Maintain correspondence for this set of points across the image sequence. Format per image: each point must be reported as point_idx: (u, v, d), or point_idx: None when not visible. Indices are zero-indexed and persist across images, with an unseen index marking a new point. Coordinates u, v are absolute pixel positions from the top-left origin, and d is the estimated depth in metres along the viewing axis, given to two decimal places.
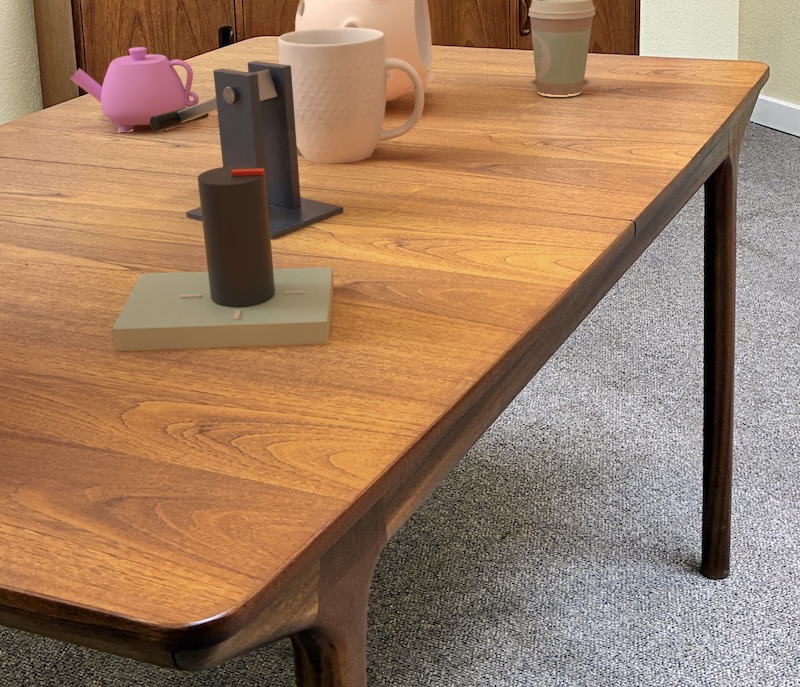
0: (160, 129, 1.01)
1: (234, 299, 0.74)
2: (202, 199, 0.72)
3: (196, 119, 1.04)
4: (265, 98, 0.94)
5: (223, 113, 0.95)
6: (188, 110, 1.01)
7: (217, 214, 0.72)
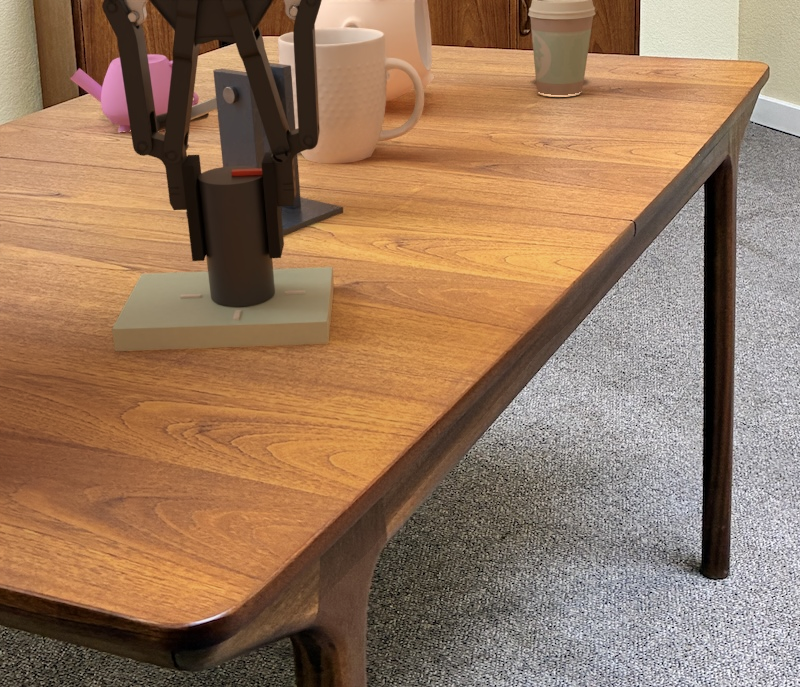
0: (160, 129, 1.01)
1: (234, 299, 0.74)
2: (202, 199, 0.72)
3: (196, 119, 1.04)
4: None
5: (223, 113, 0.95)
6: None
7: (217, 214, 0.72)
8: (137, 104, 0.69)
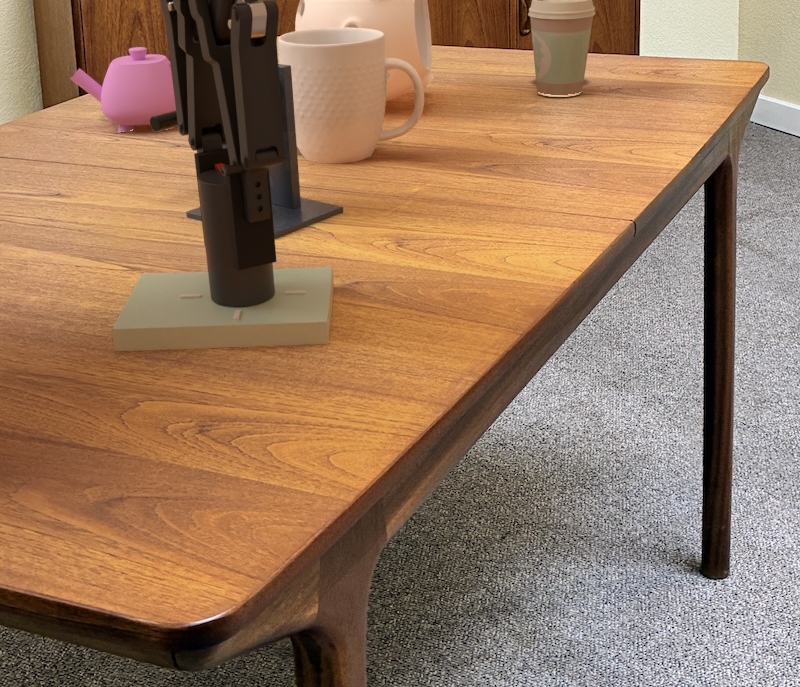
0: (160, 129, 1.01)
1: None
2: None
3: None
4: None
5: None
6: None
7: None
8: None
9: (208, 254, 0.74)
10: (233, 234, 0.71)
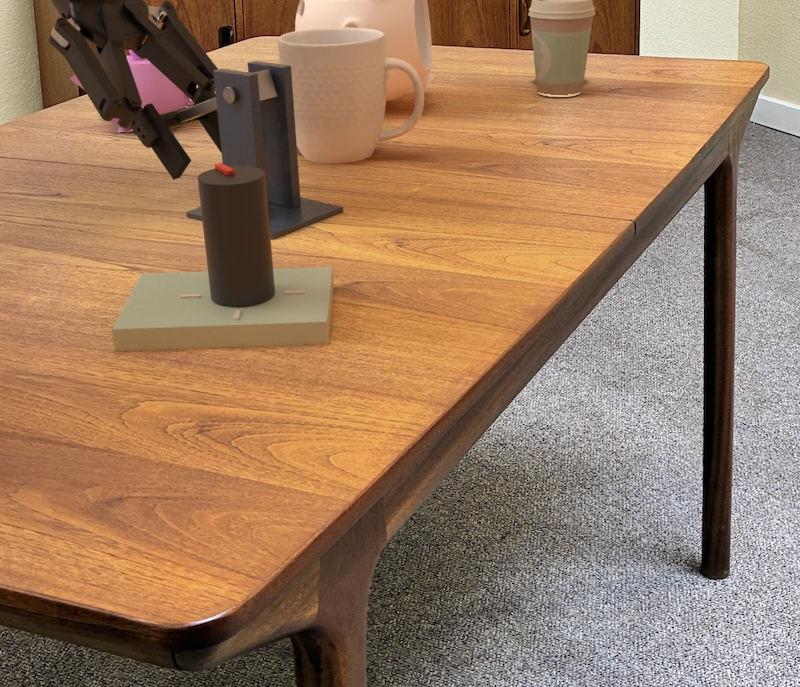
0: None
1: None
2: (260, 196, 0.72)
3: (196, 119, 1.04)
4: (265, 98, 0.94)
5: (223, 113, 0.95)
6: (188, 110, 1.01)
7: None
8: None
9: (208, 254, 0.74)
10: None
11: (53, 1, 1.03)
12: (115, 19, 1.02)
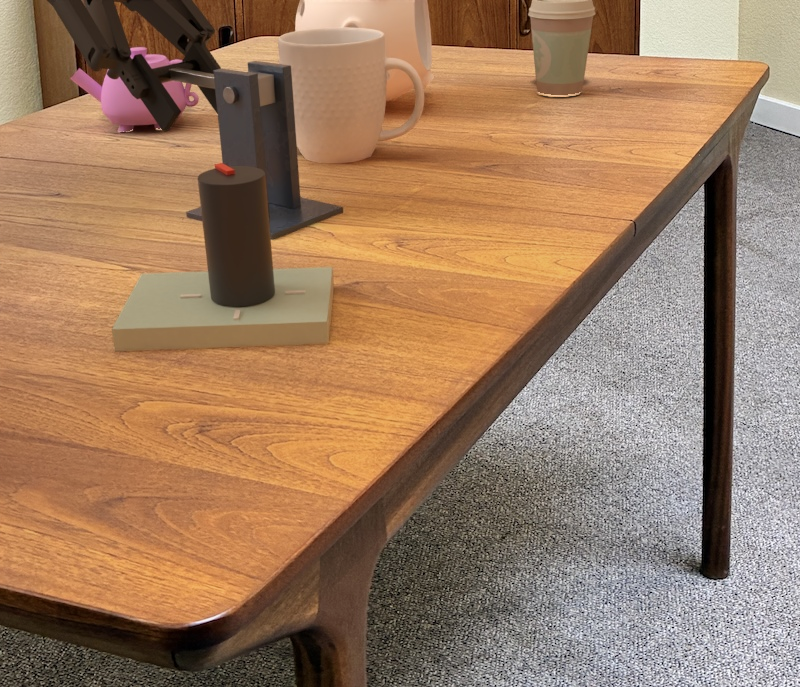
0: None
1: None
2: (260, 196, 0.72)
3: None
4: (263, 104, 0.95)
5: (223, 113, 0.95)
6: (181, 74, 1.00)
7: None
8: None
9: (208, 254, 0.74)
10: None
11: None
12: None
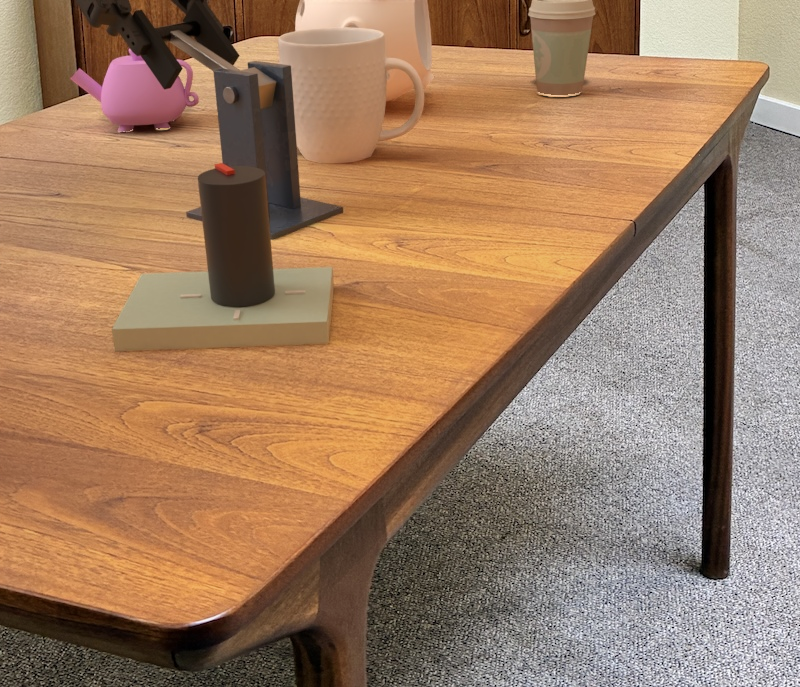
0: None
1: None
2: (260, 196, 0.72)
3: None
4: None
5: (223, 113, 0.95)
6: (182, 42, 0.98)
7: None
8: None
9: (208, 254, 0.74)
10: (222, 35, 1.00)
11: None
12: None
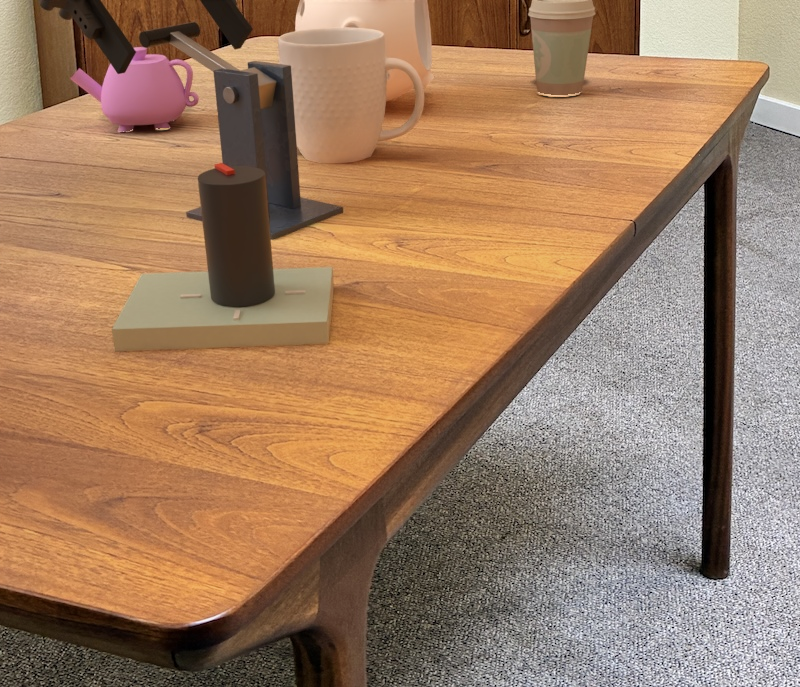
0: (147, 47, 0.98)
1: None
2: (260, 196, 0.72)
3: None
4: None
5: (223, 113, 0.95)
6: (182, 43, 0.98)
7: None
8: None
9: (208, 254, 0.74)
10: (236, 9, 1.03)
11: None
12: None
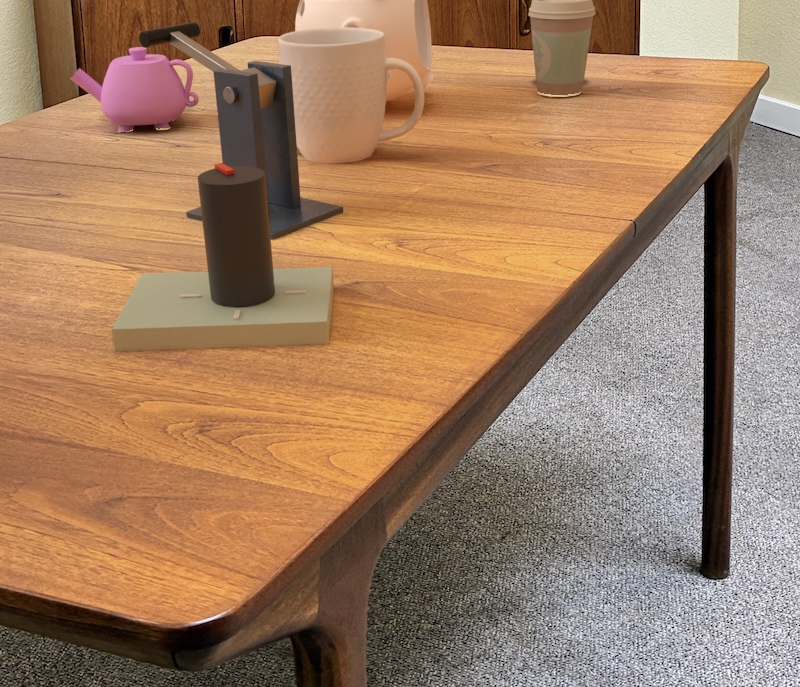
0: (147, 47, 0.98)
1: None
2: (260, 196, 0.72)
3: None
4: None
5: (223, 113, 0.95)
6: (182, 43, 0.98)
7: None
8: None
9: (208, 254, 0.74)
10: None
11: None
12: None
